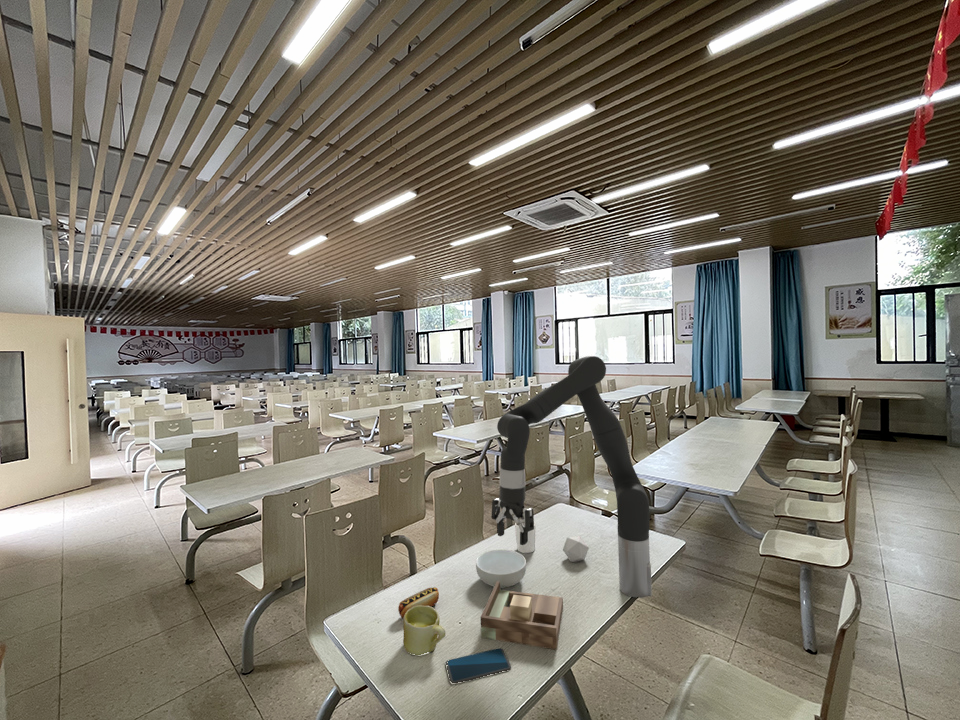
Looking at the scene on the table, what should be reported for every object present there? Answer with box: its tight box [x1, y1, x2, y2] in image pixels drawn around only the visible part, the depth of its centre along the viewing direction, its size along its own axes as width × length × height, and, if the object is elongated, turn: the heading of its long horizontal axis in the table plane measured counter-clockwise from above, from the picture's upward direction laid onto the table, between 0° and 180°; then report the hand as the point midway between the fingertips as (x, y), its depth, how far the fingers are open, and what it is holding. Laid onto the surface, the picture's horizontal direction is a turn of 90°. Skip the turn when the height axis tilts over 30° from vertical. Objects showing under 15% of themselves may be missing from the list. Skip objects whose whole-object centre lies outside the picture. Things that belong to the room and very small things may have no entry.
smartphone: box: [445, 647, 512, 683], centre depth 102 cm, size 8×15×1 cm, turn 106°
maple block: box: [510, 595, 532, 622], centre depth 115 cm, size 5×5×5 cm
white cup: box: [514, 521, 536, 554], centre depth 161 cm, size 8×8×10 cm
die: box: [562, 535, 590, 563], centre depth 152 cm, size 8×9×10 cm
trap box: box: [480, 581, 564, 650], centre depth 118 cm, size 20×18×6 cm
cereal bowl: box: [475, 549, 527, 589], centre depth 139 cm, size 17×17×7 cm
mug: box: [402, 605, 447, 656], centre depth 109 cm, size 12×10×10 cm
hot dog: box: [397, 586, 440, 619], centre depth 125 cm, size 5×13×5 cm, turn 132°
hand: (511, 539), depth 122 cm, fingers open, 8 cm apart
